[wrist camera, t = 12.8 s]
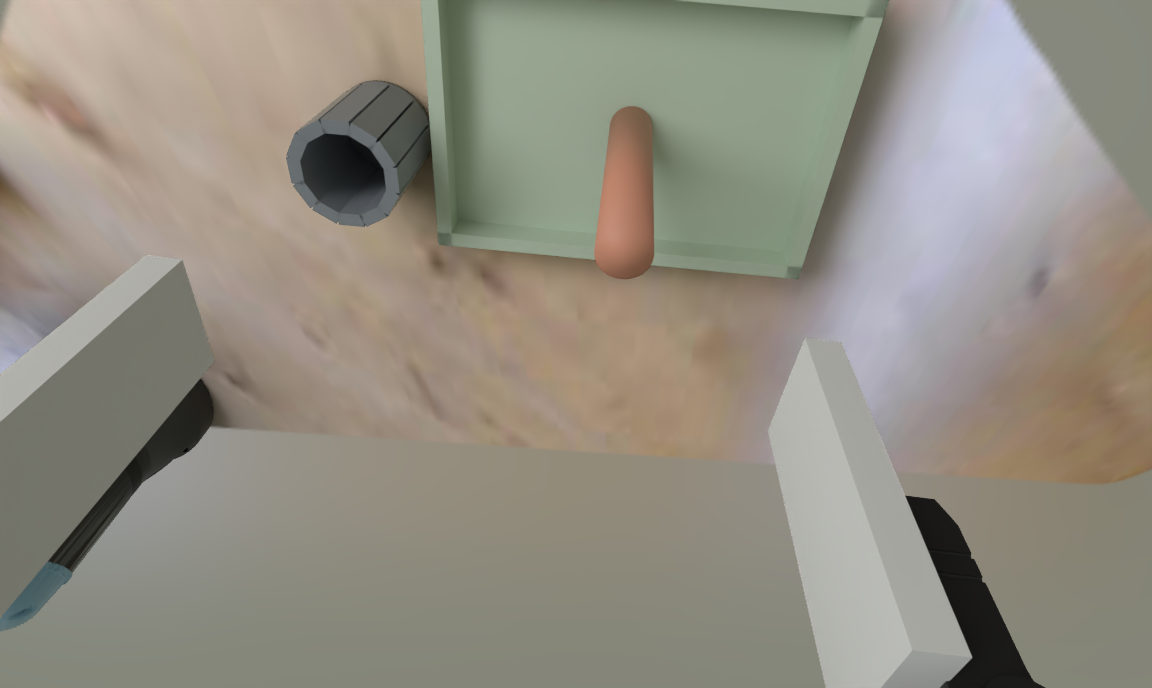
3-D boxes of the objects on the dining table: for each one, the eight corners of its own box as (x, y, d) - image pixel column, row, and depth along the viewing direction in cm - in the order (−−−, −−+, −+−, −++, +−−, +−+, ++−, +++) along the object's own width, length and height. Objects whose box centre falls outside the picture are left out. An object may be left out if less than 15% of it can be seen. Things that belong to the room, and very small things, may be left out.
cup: (345, 170, 47) (299, 220, 40) (330, 76, 43) (276, 114, 36) (435, 179, 47) (403, 230, 40) (428, 85, 43) (392, 125, 36)
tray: (448, 226, 49) (438, 244, 47) (430, -50, 38) (417, -43, 36) (790, 259, 48) (798, 279, 46) (874, -11, 37) (889, -2, 35)
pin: (610, 142, 44) (526, 261, 32) (614, 101, 42) (528, 209, 30) (698, 159, 43) (647, 288, 30) (706, 117, 41) (655, 236, 29)
